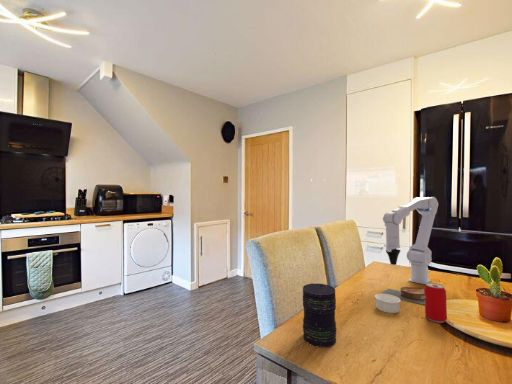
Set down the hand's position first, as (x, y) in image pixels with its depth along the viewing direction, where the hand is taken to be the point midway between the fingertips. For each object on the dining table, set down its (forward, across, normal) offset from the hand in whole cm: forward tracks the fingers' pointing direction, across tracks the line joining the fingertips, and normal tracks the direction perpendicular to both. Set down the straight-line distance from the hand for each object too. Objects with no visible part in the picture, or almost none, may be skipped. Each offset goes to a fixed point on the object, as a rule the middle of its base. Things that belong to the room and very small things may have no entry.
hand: (393, 264), depth 124 cm
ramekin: (+11, +31, +6) cm, 33 cm away
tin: (+9, +5, +10) cm, 14 cm away
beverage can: (+10, +29, +21) cm, 37 cm away
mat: (+10, +12, +9) cm, 18 cm away
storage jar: (+10, +68, -2) cm, 68 cm away
